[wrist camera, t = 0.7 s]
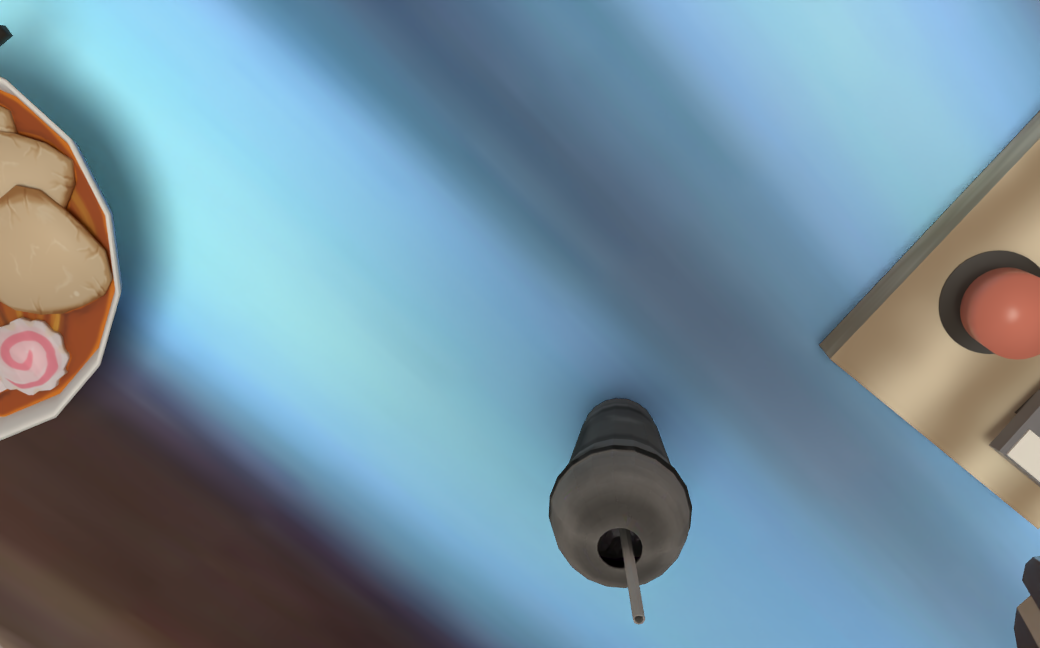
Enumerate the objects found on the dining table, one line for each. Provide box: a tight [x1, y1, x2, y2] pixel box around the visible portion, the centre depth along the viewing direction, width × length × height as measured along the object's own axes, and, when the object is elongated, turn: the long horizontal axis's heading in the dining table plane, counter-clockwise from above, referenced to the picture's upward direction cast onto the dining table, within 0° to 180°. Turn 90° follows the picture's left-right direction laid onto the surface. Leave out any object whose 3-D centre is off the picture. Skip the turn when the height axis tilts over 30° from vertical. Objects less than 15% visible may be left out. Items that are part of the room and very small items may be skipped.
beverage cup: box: [549, 398, 692, 624], centre depth 49 cm, size 7×7×20 cm
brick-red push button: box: [960, 267, 1040, 360], centre depth 49 cm, size 4×4×2 cm
